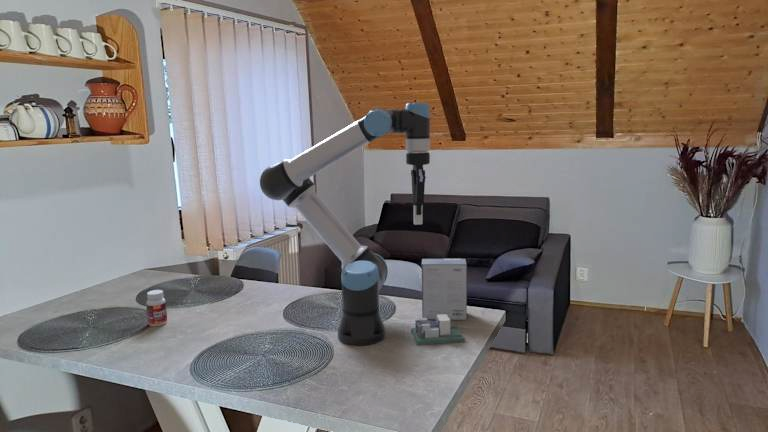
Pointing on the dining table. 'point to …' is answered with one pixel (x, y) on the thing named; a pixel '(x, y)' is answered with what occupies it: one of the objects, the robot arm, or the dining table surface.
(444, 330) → the white open-sided box
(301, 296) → the dining table surface
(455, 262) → the hard drive box
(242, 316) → the dining table surface
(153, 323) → the pill bottle
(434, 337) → the board
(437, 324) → the grey rectangular bar
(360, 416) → the dining table surface
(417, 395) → the dining table surface
